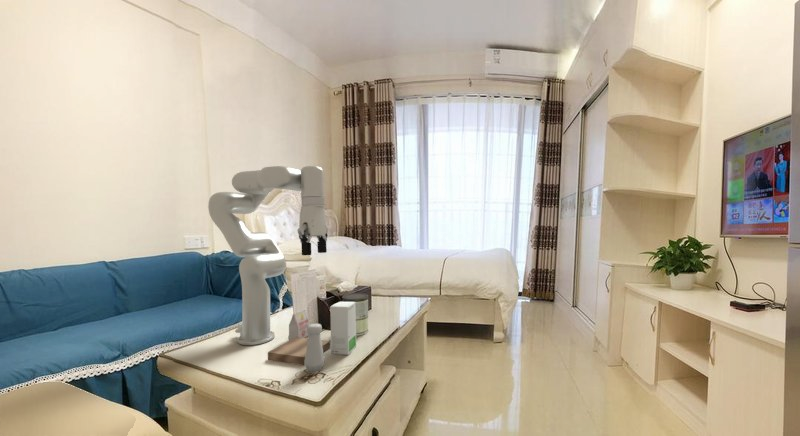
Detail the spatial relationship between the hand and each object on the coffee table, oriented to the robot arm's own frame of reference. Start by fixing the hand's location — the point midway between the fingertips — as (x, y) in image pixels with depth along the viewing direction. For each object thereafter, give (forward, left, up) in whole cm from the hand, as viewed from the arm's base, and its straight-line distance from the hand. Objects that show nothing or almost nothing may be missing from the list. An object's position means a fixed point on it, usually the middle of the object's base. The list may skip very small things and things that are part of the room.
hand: (314, 253), depth 105 cm
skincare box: (+8, +4, -33) cm, 34 cm away
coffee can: (+4, +22, -33) cm, 40 cm away
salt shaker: (+7, -11, -33) cm, 35 cm away
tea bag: (-13, +9, -33) cm, 36 cm away
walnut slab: (-4, -3, -33) cm, 33 cm away
